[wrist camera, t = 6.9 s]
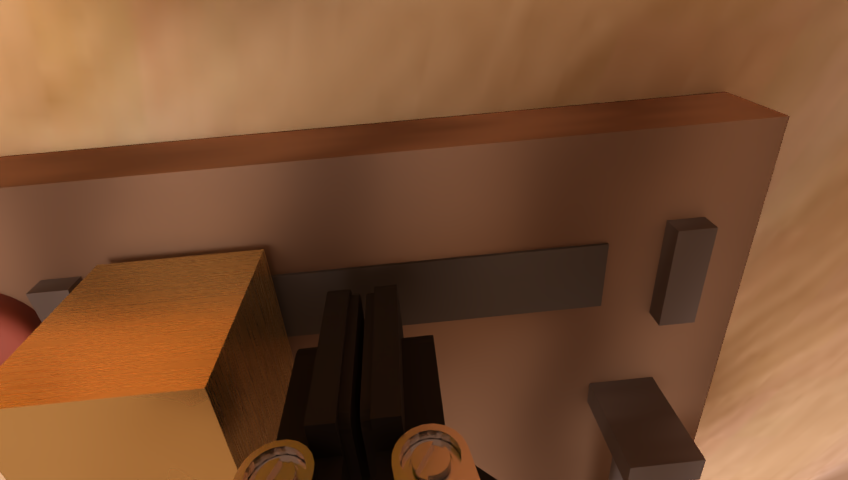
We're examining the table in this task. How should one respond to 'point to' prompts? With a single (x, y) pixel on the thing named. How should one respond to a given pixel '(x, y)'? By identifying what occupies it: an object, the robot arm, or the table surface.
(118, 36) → the table surface
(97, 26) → the table surface
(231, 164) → the console
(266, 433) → the brass knob
